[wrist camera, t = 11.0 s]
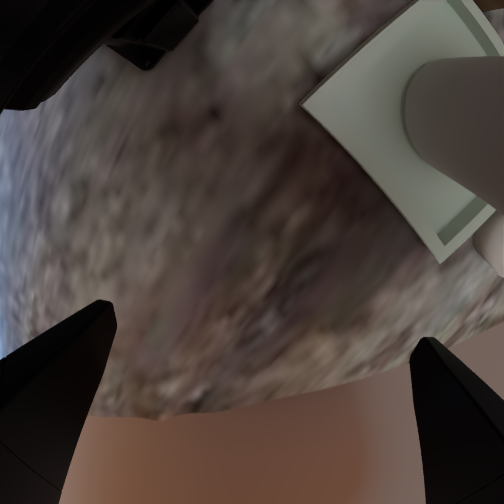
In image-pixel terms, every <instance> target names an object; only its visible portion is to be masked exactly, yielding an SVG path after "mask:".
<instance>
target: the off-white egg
mask: <svg viewBox="0 0 504 504" xmlns="http://www.w3.org/2000/svg"><path fill="white" fill-rule="evenodd" d="M473 243H474V247H475V249H476V251H477V252H478V253H479V254H480V255H481V256H482V257H483V258H484V259H485V260H486V262H487V263H488V264H489V265H490V266H491V267H492V268H493V269H494V270H495V271H496V273H497V274H498V275H499V276H501V277H503V278H504V215H503V214H501V213H500V212H499V211H497V210H496V211H495V212H494V213H493V214H492V215H491V216H490V217H489V218H488V219H487V220H486V221H485V222H484V223H483V224H482V225H481V226H480V227H479V228H478V229H477V230H476V231H475V232H474V234H473Z"/></svg>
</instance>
